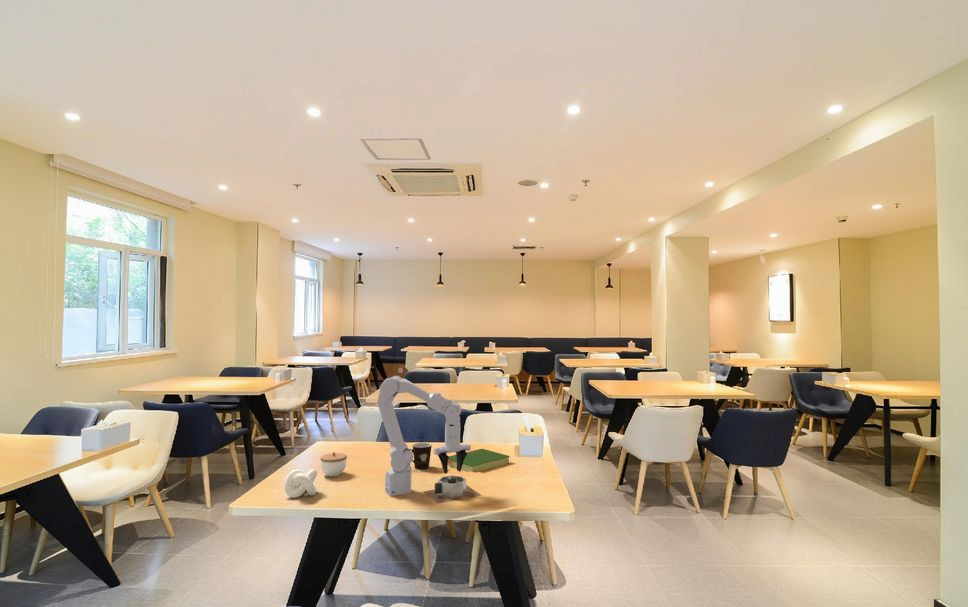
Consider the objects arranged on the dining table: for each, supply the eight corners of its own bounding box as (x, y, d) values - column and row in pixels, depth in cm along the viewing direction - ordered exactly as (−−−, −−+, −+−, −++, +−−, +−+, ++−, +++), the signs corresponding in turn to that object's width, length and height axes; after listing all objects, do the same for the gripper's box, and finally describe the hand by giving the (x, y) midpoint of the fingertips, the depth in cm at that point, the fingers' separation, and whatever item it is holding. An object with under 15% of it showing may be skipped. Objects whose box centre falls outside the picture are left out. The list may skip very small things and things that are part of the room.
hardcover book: (482, 456, 235) (482, 448, 236) (509, 464, 222) (509, 456, 222) (442, 465, 218) (443, 457, 218) (470, 475, 204) (470, 466, 205)
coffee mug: (433, 465, 217) (433, 443, 218) (429, 470, 209) (429, 447, 209) (408, 464, 218) (408, 442, 219) (403, 469, 210) (403, 446, 210)
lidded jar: (319, 479, 196) (319, 456, 196) (321, 471, 206) (321, 450, 207) (346, 477, 199) (346, 454, 199) (346, 470, 209) (347, 448, 209)
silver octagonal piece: (440, 500, 170) (440, 486, 170) (430, 492, 179) (430, 478, 179) (469, 495, 176) (469, 481, 176) (458, 487, 184) (458, 474, 185)
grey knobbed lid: (447, 495, 173) (447, 482, 173) (439, 490, 179) (439, 476, 179) (464, 492, 176) (465, 479, 177) (456, 487, 183) (456, 474, 183)
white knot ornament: (282, 502, 170) (282, 476, 170) (286, 491, 181) (286, 467, 182) (315, 499, 173) (316, 474, 173) (317, 488, 184) (317, 465, 185)
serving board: (437, 505, 167) (437, 503, 167) (422, 493, 179) (422, 491, 179) (481, 497, 176) (482, 495, 176) (465, 486, 188) (465, 484, 188)
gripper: (439, 439, 172) (438, 477, 171) (474, 435, 179) (474, 472, 178) (431, 435, 178) (431, 472, 177) (466, 431, 185) (465, 467, 184)
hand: (452, 471), depth 178 cm, fingers open, 5 cm apart
